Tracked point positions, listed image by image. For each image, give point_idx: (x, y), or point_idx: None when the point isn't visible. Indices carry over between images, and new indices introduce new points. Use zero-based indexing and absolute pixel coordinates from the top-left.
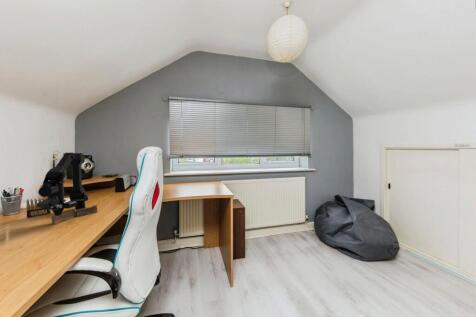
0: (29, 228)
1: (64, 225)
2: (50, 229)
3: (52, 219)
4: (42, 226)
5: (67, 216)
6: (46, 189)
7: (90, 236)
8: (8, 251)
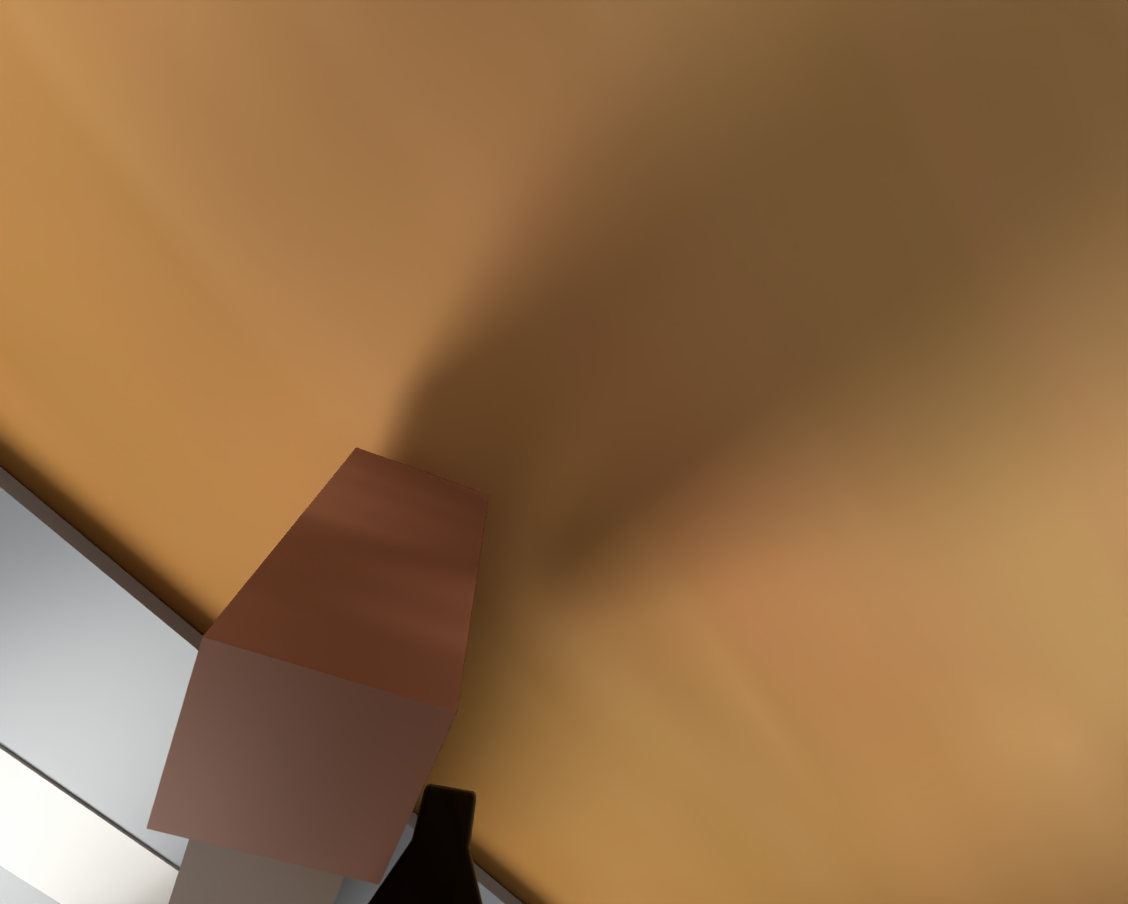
0: (1109, 383)
1: (50, 425)
2: (285, 98)
3: (431, 594)
4: (789, 479)
5: None
6: None
7: None
8: None
